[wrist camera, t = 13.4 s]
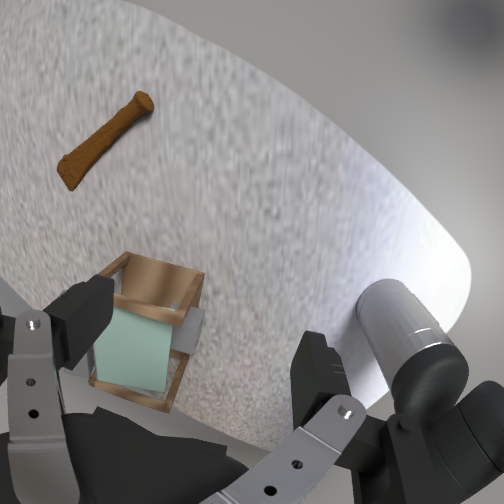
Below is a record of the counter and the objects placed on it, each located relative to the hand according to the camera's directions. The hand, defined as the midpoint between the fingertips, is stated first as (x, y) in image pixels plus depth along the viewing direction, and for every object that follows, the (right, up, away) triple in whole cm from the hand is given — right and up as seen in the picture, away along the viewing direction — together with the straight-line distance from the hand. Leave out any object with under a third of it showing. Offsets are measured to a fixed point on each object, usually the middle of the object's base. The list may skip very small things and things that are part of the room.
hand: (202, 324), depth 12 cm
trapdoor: (-16, -9, +25) cm, 31 cm away
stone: (-11, -8, +32) cm, 34 cm away
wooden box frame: (-13, -6, +35) cm, 37 cm away
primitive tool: (-20, +19, +27) cm, 39 cm away
